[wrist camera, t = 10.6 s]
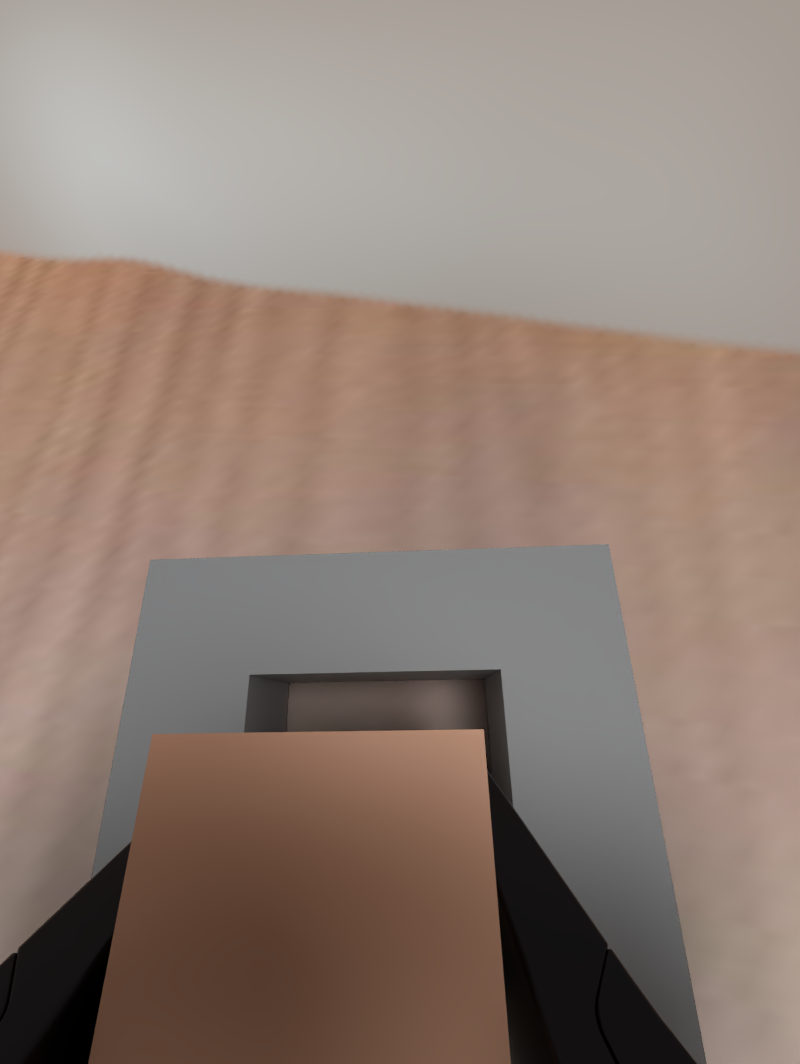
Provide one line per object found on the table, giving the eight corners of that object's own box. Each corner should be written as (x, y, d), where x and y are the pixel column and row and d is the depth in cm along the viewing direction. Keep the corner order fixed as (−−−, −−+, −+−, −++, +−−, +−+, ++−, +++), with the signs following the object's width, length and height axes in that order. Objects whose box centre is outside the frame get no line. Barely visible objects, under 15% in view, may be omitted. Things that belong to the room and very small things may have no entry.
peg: (449, 908, 13) (525, 1251, 4) (296, 910, 13) (52, 1247, 4) (441, 740, 15) (483, 729, 6) (307, 742, 15) (152, 734, 6)
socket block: (647, 1085, 13) (740, 1242, 9) (141, 1074, 13) (27, 1217, 9) (570, 579, 18) (608, 544, 14) (207, 591, 18) (150, 559, 15)
